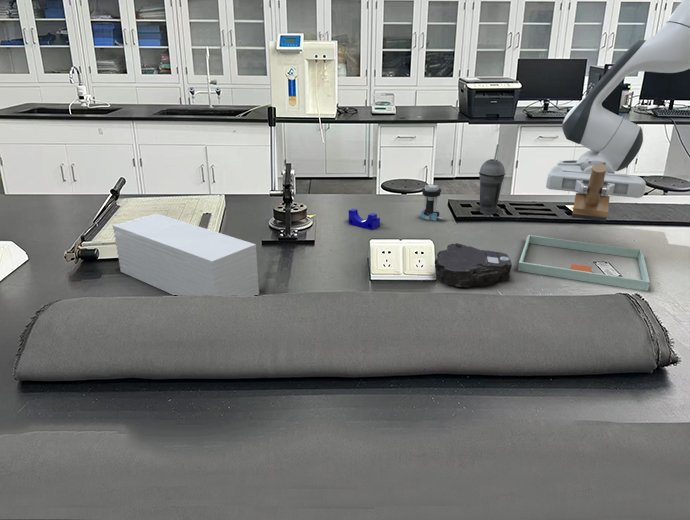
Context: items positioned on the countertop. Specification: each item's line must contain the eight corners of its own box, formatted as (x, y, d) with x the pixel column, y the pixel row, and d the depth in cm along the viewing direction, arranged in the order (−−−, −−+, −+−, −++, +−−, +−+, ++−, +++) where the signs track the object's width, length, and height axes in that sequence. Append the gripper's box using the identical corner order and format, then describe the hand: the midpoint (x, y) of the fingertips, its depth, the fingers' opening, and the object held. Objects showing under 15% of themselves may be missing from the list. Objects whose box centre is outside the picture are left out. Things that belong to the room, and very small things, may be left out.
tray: (639, 260, 123) (642, 249, 122) (647, 293, 107) (650, 282, 106) (526, 244, 132) (527, 234, 131) (517, 273, 116) (518, 262, 115)
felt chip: (590, 271, 115) (591, 266, 115) (590, 278, 112) (591, 273, 112) (570, 268, 117) (571, 263, 116) (570, 275, 113) (571, 270, 113)
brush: (607, 205, 121) (618, 161, 111) (605, 221, 118) (617, 177, 108) (574, 202, 123) (582, 158, 114) (571, 217, 121) (580, 174, 111)
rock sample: (465, 299, 104) (467, 276, 102) (414, 271, 116) (415, 250, 115) (525, 279, 113) (528, 258, 111) (472, 255, 125) (474, 236, 123)
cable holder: (379, 226, 144) (380, 212, 143) (372, 230, 142) (372, 215, 140) (356, 220, 149) (356, 207, 147) (348, 224, 146) (348, 210, 145)
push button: (446, 221, 149) (449, 186, 145) (437, 225, 145) (440, 190, 141) (425, 216, 153) (428, 182, 149) (416, 221, 149) (418, 186, 145)
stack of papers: (120, 271, 116) (112, 225, 112) (162, 257, 124) (156, 213, 120) (217, 314, 98) (211, 261, 94) (259, 294, 106) (255, 244, 102)
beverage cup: (491, 207, 161) (499, 140, 153) (505, 214, 155) (514, 145, 147) (470, 209, 159) (477, 142, 151) (483, 216, 153) (491, 146, 145)
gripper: (640, 194, 123) (645, 211, 112) (547, 185, 131) (543, 200, 119) (646, 168, 121) (652, 181, 109) (551, 160, 128) (547, 172, 117)
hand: (594, 191), depth 114 cm, fingers closed on brush, 3 cm apart
